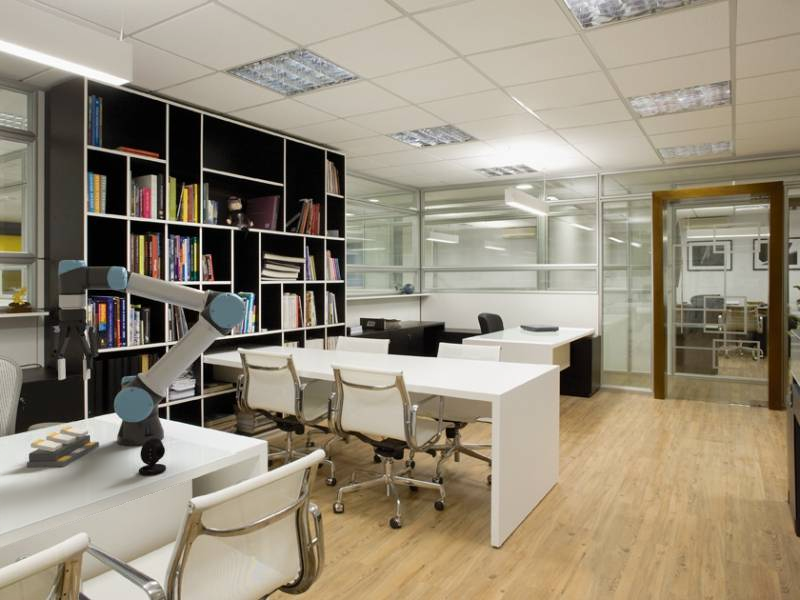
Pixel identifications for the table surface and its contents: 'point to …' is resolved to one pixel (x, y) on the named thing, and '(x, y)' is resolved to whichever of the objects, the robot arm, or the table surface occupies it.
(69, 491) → the table surface
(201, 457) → the table surface
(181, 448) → the table surface
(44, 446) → the rocker
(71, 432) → the rocker
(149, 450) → the webcam
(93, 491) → the table surface
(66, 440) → the rocker
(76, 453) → the switch panel
